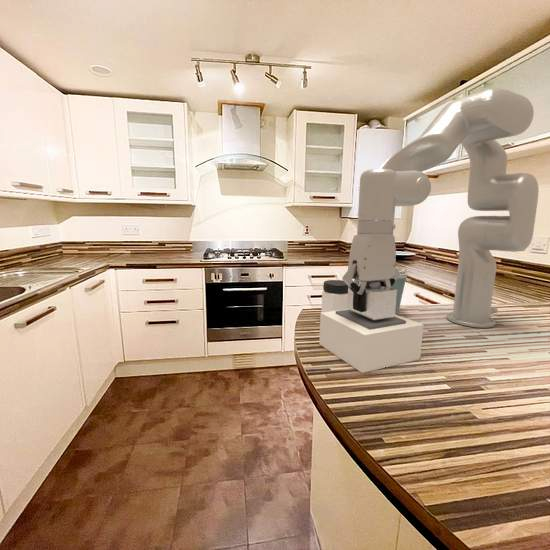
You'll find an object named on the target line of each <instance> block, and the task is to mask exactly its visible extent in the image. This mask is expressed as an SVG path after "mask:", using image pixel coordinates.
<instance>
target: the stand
mask: <svg viewBox="0 0 550 550" xmlns="http://www.w3.org/2000/svg"><path fill="white" fill-rule="evenodd" d="M319 313H320V314H319V315H320V320H319V343H318V344H319V345H320V346H322V347H323V348H325V349H326V350H327V351H329V352H330V353H332V354H333V355H335V356H336V357H338V358H340V359H341V360H342V361H344V362H346V363H347V364H348V365H349V366H350V367H353V368H355V369H356V370H357V371H358V372H360V373H361V374H364V373H368V372H372V371H378V370H380V369H384V368H385V367H386V368H389V367H390V368H391V367H394V366H398V365H401V364H405V363H411V362H414V361H417V360H418V361H419V360H421V354H422V353H421V351H422V345H423V344H422V343H423V342H422V341H423V332H424V324H422V323H420V322H419V321H418V322H417V321H415V320H413V319H409V318H407V317H404V316H401V315H398V314H397V315H396V314H395V317H389V318H383V319H376V320H372V319H370V318H368V317H365V316H363V315H361V314H358V313H356V312H354V311H351V310H349V309H345V310H338V311H330V312H323V313H322V312H319Z"/></svg>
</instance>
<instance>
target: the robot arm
mask: <svg viewBox="0 0 550 550" xmlns="http://www.w3.org/2000/svg"><path fill="white" fill-rule="evenodd" d="M534 114H535V113H534V107H533V104H532V102H531V100H529V98H527V97H526V96H524V95H522V94H519V93H517V92H514V91H511V90H509V89H504V88H497V87H496V88H495V87H494V88H488V89H484V90H482V91H481V90H480V91H478V92H474V93H471V94H469V95H468V94H467V95H465V96H462V97H459V98H456V99H454V100H452V101H450V102H448V103H447V104H446V105H444V107H443V108H442V109H441V110H440V111H439V112H438V114H437V115H436V116H435V117H434V118H433V120H432V121H431V123H429V125H428V126H427V127H426V128H425V129H424V131H423V132H422V133H421V134H420V136H418V137H417V138H416V139H414V140H412V141H410V142H409V143H408V144H406V145H405V146H404V147H402V148H400V150H398V151H396V152H395V153H394V154H392V155H391V156H389V157H388V158H387V159H386V160H384V162H383V163H382V164H381V165H380V166H379V167H378V168H374V169H367V170H364V171H363V172H362V173H361V175H360V177H359V191H358V192H359V193H358V207H357V208H358V209H357V210H358V212H357V231H356V235H353V238H352V242H351V245H350V246H351V247H350V251H349V258H348V262H347V263H348V264H347V265H348V266H347V271H346V272H345V273H344V275H343V276H342V279H341V280H343V281H344V282H345V283H346V284H347V286H348V287H349V288H350V289H351V292H353V309H354V310H357V311H359V312H364V304H365V295H364V294H363V291H364V289H365V286H366V283H367V282H370V281H381V283H380V285H381V286H385V287H388V288H391V287H392V286H393V284H394V283H395V281H396V280H397V278H398V277H399V276H400V273H399V271H398V270H397V269H396V268H397V267H396V265H397V264H396V262H397V259H396V257H397V256H396V255H397V250H396V249H397V248H396V237H395V235H394V230H395V229H396V224H395V215H396V213H395V212H396V207H411V206H417V205H419V204H421V203H423V202H424V201H425V200H427V198H428V197H429V195H430V193H431V190H432V184H431V180H430V178H429V176H428V175H427V174H426V173H424V172H425V171H428V170H431V169H433V168H435V167H437V166H439V165H441V164H443V163H445V162H446V161H447V160H449V158H450V157H452V155H453V154H454V152H455V151H456V150H457V148H458V147H459V145H460V144H461V145H462V146H463V148H464V149H465V152H466V154H467V156H468V159H469V174H468V175H469V176H468V184H467V185H468V187H467V204H468V205H467V206H468V208H470V210H473V211H479V212H497V211H498V212H500V211H501V212H502V211H503V212H504V211H507V212H508V213H509V214H508V215H475V216H470V217H467V218H465V219H464V220H463V221H462V222H461V223H460V224H459V227H458V230H457V237H458V238H457V239H458V253H459V254H458V266H457V273H456V274H457V275H456V281H455V290H454V291H455V292H454V301H453V309H452V311H451V312H448V313H447V314H446V320H448V321H449V322H452V323H455V324H457V325H461V326H464V327H471V328H482V329H486V328H487V329H488V328H493V327H495V326H496V320H495V319H494V318H493V317H491V315H492V314H497V313H498V308H497V307H496V306H492V301H493V296H494V290H495V289H494V288H495V281H496V274H497V262H496V260H495V257H494V256H493V254H492V253H491V251H497V252H511V253H514V252H515V253H517V252H518V253H519V252H522V251H525V250H527V248H529V247H530V244H531V242H532V240H533V235H534V230H535V223H536V216H537V208H538V201H539V183H538V180H537V178H536V177H535V176H534V174H531V173H529V172H528V173H527V172H517V173H509V174H507V165H508V154H507V151H506V150H505V149H504V147H503V146H502V144H500V143H499V142H498V141H497V140H499V139H500V140H501V139H505V138H509V137H510V138H511V137H515V136H518V135H521V134H523V133H524V132H525V131H527V130H528V129H529V127H530V126H531V125H532V121H533V119H534ZM359 283H360V285H359ZM358 285H359V287H358Z"/></svg>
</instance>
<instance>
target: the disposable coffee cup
mask: <svg viewBox="0 0 550 550" xmlns="http://www.w3.org/2000/svg"><path fill="white" fill-rule="evenodd" d="M396 269H397V270H398V271H399V273H400V276H399V277H398V278H397V280H396V281H395V283H394V284H393V286H392V287H391V288H392V289H396V290H397V296H396V309H395V314H396V315H398V314H399V313H400V307H401V303H402V298H403V294H404V290H405V289H404V288H405V284H406V280H407V277H408V272H406V270H407V269H405V268H403V267H402V268H401V267H396Z"/></svg>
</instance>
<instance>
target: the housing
mask: <svg viewBox="0 0 550 550" xmlns="http://www.w3.org/2000/svg"><path fill="white" fill-rule="evenodd" d="M380 283H381V281H370V282H367V283H366V286H365V289H364V291H363V294H364V295H365V304H364V312H359V311H357V310H354V309H353V292H351V289H350V288H349V287H348V304H347V309H349V310H351V311H354V312H356V313H358V314H361V315H363V316H365V317H368V318H370V319H372V320H376V319H383V318H389V317H395V309H396V296H397V290H396V289H392V288H388V287H385V286H381V285H380ZM359 285H360V283H359ZM359 285H358V287H359Z"/></svg>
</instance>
